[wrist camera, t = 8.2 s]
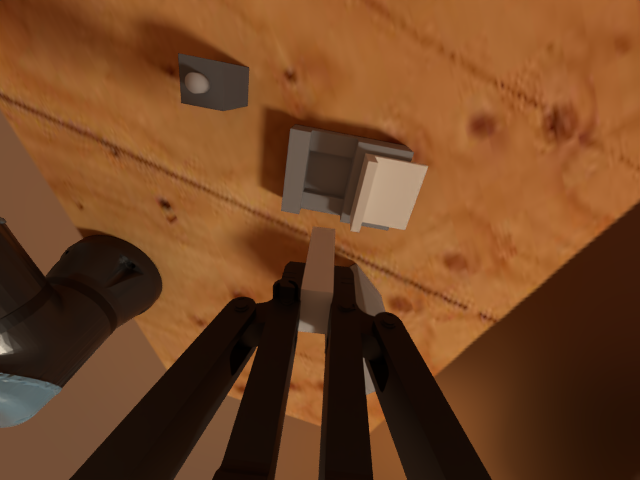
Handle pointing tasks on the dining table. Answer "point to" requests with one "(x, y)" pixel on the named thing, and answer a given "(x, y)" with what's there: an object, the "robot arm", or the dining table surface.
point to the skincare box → (366, 308)
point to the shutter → (386, 192)
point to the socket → (329, 170)
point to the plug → (212, 83)
